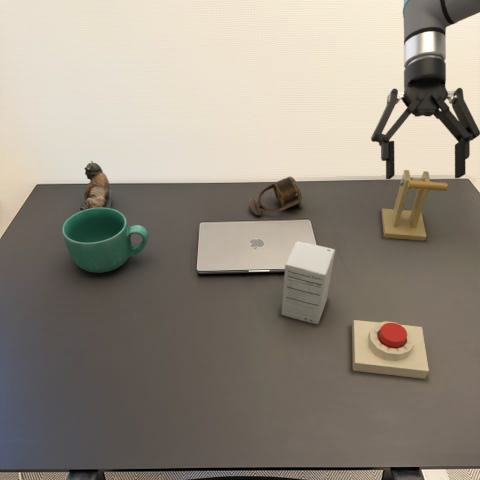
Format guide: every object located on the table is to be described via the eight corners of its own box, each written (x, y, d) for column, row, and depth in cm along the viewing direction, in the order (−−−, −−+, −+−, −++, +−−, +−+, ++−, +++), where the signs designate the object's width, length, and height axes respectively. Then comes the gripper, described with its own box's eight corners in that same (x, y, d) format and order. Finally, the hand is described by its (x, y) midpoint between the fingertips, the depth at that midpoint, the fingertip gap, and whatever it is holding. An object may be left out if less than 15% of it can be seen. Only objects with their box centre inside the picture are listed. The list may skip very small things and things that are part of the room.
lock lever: (446, 193, 89) (448, 180, 89) (408, 190, 90) (410, 177, 89) (429, 190, 102) (431, 178, 101) (396, 187, 102) (398, 176, 102)
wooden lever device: (425, 241, 104) (442, 189, 95) (383, 237, 105) (397, 186, 96) (419, 215, 111) (436, 165, 102) (381, 212, 112) (393, 162, 103)
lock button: (403, 330, 81) (406, 323, 80) (405, 350, 78) (408, 343, 77) (377, 328, 82) (379, 321, 80) (378, 347, 79) (381, 340, 77)
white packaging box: (291, 290, 93) (296, 239, 84) (327, 300, 92) (337, 248, 82) (279, 315, 89) (284, 264, 80) (317, 326, 87) (326, 274, 78)
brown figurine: (110, 224, 109) (101, 186, 102) (79, 226, 109) (68, 187, 102) (115, 197, 118) (107, 159, 110) (87, 198, 117) (76, 160, 110)
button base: (418, 334, 85) (424, 319, 82) (425, 379, 78) (432, 364, 75) (351, 327, 86) (355, 312, 84) (352, 370, 80) (356, 355, 77)
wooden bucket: (307, 200, 106) (305, 169, 111) (251, 196, 105) (251, 165, 110) (301, 222, 112) (299, 192, 117) (248, 218, 111) (248, 188, 117)
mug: (65, 278, 96) (51, 241, 89) (85, 241, 105) (74, 205, 98) (144, 284, 95) (136, 247, 88) (158, 246, 104) (152, 209, 97)
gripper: (478, 74, 94) (479, 181, 95) (354, 76, 94) (355, 182, 94) (499, 54, 87) (500, 170, 87) (365, 55, 86) (366, 172, 87)
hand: (425, 177), depth 91 cm, fingers open, 13 cm apart
